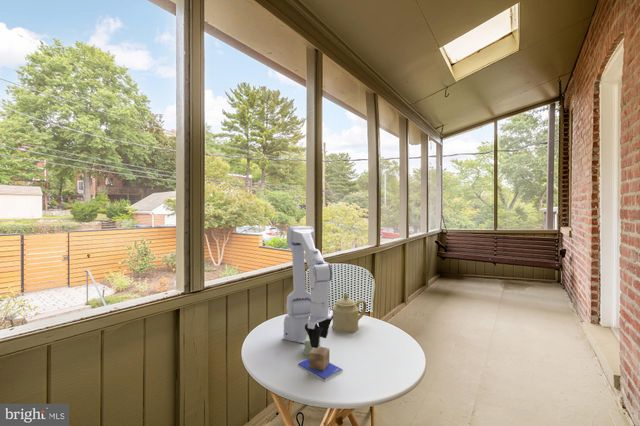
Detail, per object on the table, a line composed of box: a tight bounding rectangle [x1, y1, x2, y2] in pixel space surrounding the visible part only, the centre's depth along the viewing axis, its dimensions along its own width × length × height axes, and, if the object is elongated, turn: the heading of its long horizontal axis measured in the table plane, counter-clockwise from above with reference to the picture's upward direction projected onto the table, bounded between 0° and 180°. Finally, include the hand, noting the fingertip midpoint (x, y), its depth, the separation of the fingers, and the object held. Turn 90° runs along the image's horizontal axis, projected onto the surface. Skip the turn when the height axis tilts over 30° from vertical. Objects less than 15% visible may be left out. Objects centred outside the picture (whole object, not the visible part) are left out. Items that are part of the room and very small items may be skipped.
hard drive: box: [297, 357, 343, 382], centre depth 104 cm, size 2×8×12 cm
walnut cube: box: [308, 346, 330, 371], centre depth 104 cm, size 5×5×5 cm
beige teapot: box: [332, 292, 367, 333], centre depth 138 cm, size 15×11×15 cm
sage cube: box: [304, 335, 321, 356], centre depth 115 cm, size 5×5×5 cm
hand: (319, 341), depth 104 cm, fingers open, 7 cm apart
